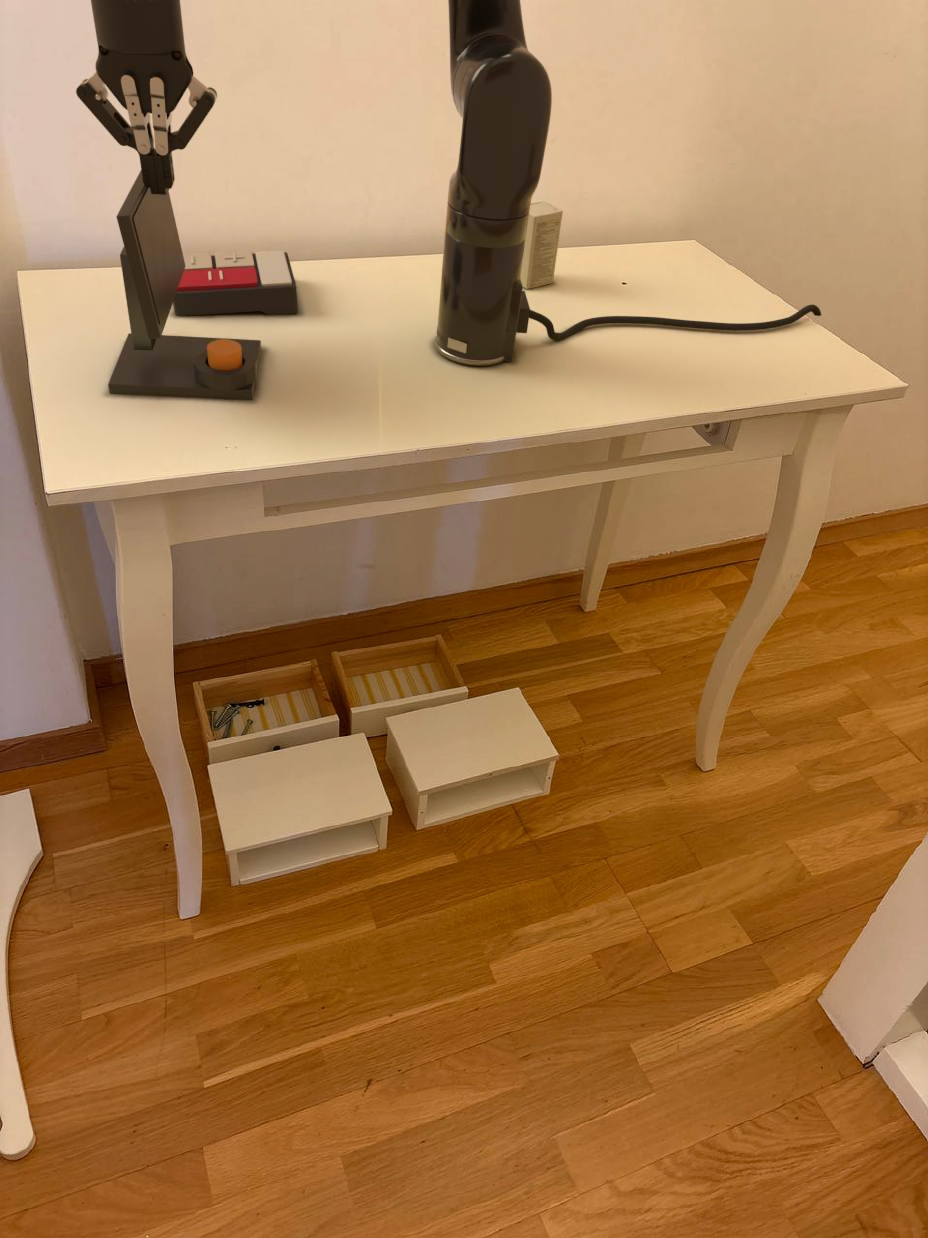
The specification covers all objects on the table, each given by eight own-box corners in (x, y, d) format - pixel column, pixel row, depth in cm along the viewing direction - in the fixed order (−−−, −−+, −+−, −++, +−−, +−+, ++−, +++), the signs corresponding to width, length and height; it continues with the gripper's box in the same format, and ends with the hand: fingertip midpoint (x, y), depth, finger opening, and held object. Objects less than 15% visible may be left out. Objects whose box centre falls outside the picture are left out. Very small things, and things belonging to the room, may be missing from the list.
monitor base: (263, 349, 113) (262, 325, 111) (254, 401, 104) (253, 376, 102) (129, 342, 111) (126, 318, 109) (109, 395, 102) (104, 369, 100)
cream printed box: (534, 272, 138) (545, 200, 131) (553, 283, 135) (565, 211, 129) (506, 277, 135) (515, 204, 129) (525, 289, 133) (535, 215, 126)
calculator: (168, 251, 122) (286, 245, 125) (173, 283, 125) (289, 277, 128) (170, 287, 114) (296, 280, 117) (175, 321, 117) (298, 313, 120)
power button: (243, 357, 106) (242, 339, 104) (240, 372, 103) (239, 355, 102) (210, 355, 105) (209, 338, 104) (206, 371, 102) (204, 353, 101)
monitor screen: (186, 266, 108) (161, 153, 100) (161, 338, 95) (130, 215, 87) (169, 267, 108) (142, 154, 100) (142, 339, 95) (108, 216, 87)
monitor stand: (156, 337, 106) (144, 244, 99) (152, 350, 104) (139, 255, 97) (138, 336, 106) (125, 243, 99) (133, 349, 104) (119, 254, 97)
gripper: (43, -14, 79) (83, 201, 91) (206, -2, 81) (224, 208, 92) (64, -30, 85) (99, 175, 96) (216, -18, 86) (232, 182, 98)
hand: (160, 191), depth 94 cm, fingers closed
